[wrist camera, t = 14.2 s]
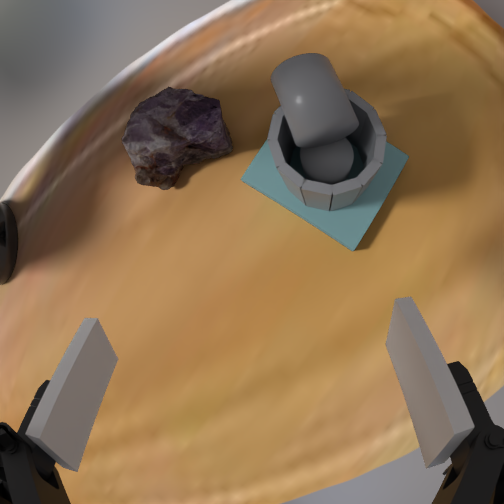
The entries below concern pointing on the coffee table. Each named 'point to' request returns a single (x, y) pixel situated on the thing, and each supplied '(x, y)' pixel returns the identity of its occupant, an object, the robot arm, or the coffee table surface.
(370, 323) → the coffee table surface
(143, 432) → the coffee table surface
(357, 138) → the elbow
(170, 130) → the rock
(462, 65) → the coffee table surface
